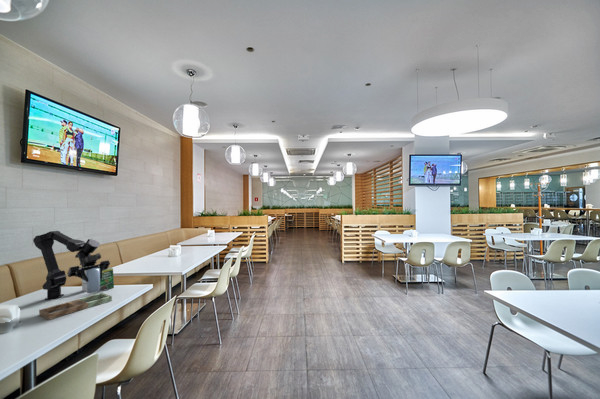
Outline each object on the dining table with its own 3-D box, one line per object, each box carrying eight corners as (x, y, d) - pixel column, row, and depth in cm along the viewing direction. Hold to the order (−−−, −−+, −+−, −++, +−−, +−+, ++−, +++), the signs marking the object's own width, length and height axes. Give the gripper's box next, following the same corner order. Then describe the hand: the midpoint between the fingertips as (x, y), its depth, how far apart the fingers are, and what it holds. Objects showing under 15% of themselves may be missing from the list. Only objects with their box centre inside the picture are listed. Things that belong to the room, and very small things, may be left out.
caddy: (47, 320, 125) (47, 314, 125) (39, 314, 131) (39, 310, 131) (111, 300, 148) (111, 296, 148) (101, 296, 154) (101, 292, 154)
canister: (90, 289, 148) (90, 268, 148) (102, 288, 150) (102, 267, 150) (84, 293, 142) (83, 271, 142) (96, 292, 144) (96, 270, 144)
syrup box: (89, 291, 166) (88, 268, 166) (81, 290, 167) (81, 268, 167) (97, 288, 171) (97, 266, 171) (90, 287, 172) (89, 266, 173)
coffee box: (99, 291, 164) (99, 271, 164) (97, 290, 166) (97, 270, 166) (114, 287, 171) (113, 268, 171) (112, 287, 172) (111, 267, 173)
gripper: (69, 252, 140) (77, 275, 134) (108, 246, 156) (117, 267, 150) (63, 265, 144) (72, 288, 138) (102, 258, 160) (111, 278, 154)
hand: (94, 279), depth 145 cm, fingers closed on canister, 6 cm apart
